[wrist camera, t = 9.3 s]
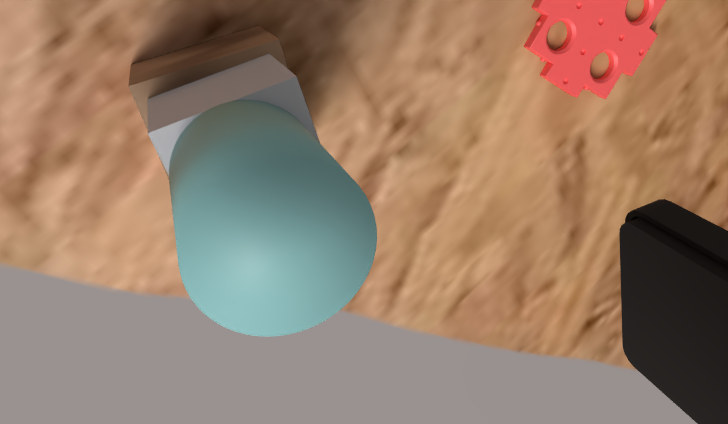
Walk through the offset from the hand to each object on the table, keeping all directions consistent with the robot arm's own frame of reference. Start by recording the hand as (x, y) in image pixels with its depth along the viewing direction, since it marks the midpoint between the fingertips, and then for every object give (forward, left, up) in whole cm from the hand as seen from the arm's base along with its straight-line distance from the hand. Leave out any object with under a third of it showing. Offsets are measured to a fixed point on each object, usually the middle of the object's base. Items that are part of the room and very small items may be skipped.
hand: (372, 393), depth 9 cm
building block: (-21, +3, -23) cm, 31 cm away
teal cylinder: (0, +1, -12) cm, 12 cm away
